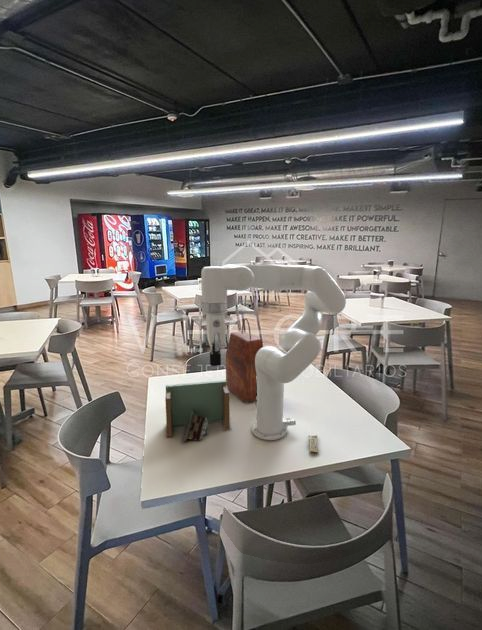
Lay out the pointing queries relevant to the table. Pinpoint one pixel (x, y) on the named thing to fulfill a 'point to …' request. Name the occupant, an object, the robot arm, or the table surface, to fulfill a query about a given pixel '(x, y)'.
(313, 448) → the snack bar
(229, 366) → the handbag
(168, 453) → the table surface
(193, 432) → the chocolate cake
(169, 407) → the cubby shelf
